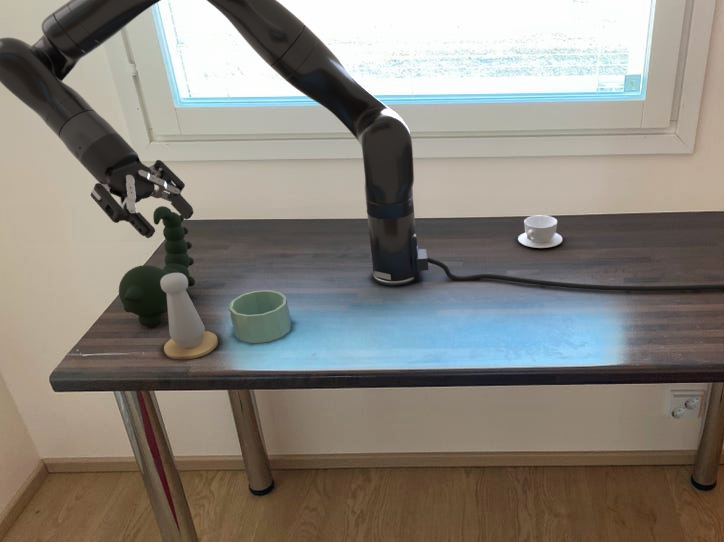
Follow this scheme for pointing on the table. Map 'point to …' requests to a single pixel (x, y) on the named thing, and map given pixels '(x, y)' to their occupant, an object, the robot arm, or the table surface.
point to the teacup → (540, 232)
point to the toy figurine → (157, 273)
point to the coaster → (189, 353)
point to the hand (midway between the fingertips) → (171, 225)
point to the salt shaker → (182, 312)
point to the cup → (260, 316)
